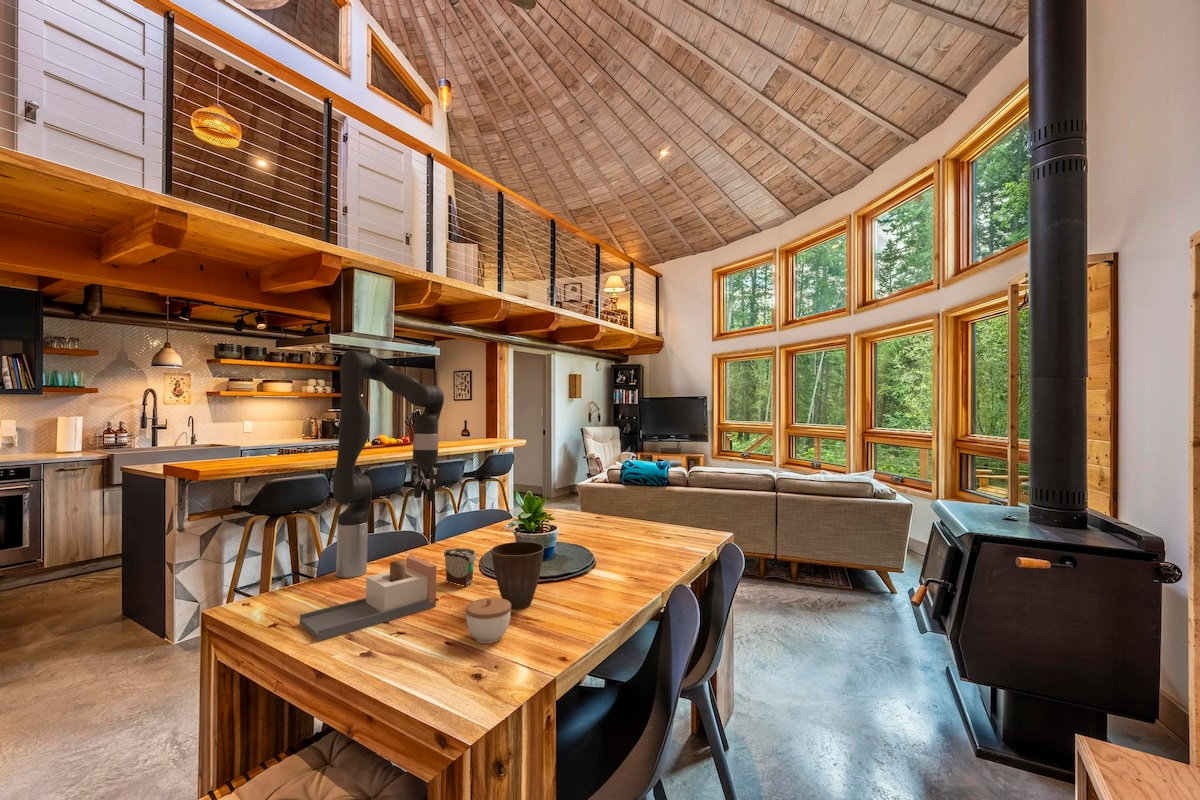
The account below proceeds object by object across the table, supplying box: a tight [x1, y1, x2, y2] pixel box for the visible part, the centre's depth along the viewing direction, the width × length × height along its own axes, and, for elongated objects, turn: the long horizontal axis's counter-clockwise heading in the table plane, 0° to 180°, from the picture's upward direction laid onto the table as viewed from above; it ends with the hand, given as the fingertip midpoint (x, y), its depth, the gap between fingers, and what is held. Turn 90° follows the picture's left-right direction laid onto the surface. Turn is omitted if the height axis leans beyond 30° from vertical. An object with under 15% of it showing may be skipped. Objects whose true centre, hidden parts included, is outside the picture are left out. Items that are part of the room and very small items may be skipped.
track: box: [299, 555, 437, 642], centre depth 133 cm, size 14×30×12 cm, turn 137°
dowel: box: [389, 560, 406, 582], centre depth 138 cm, size 4×4×10 cm
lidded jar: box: [465, 597, 512, 644], centre depth 120 cm, size 11×11×9 cm
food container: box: [443, 547, 477, 586], centre depth 160 cm, size 12×6×10 cm, turn 58°
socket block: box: [365, 567, 428, 612], centre depth 138 cm, size 12×12×7 cm
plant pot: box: [491, 541, 545, 610], centre depth 142 cm, size 15×15×16 cm
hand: (424, 499), depth 156 cm, fingers open, 8 cm apart
